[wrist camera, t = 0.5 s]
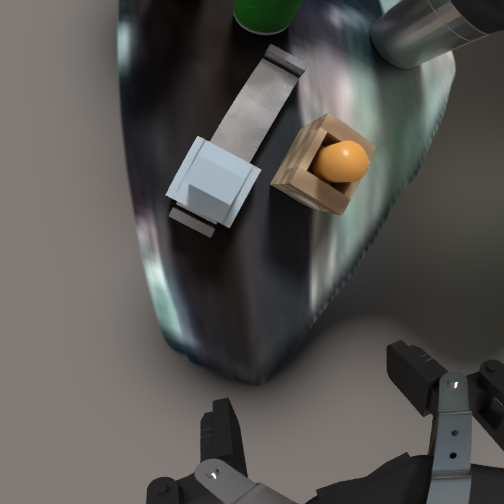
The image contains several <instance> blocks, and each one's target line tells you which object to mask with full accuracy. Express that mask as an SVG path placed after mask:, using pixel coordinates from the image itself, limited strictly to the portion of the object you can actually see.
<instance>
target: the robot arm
mask: <svg viewBox="0 0 504 504" xmlns="http://www.w3.org/2000/svg"><path fill="white" fill-rule="evenodd" d="M503 30H504V0H401V1H399V2H398V3H397V4H396V5H394V6H393V7H392V8H391V9H389V10H388V11H387V12H386V13H384V14H383V15H382V16H381V17H380V18H379V19H377V20H376V21H375V22H374V23H373V24H372V26H371V29H370V36H371V40H372V42H373V44H374V47H375V48H376V50H377V51H378V53H379V54H380V55H381V56H382V57H383V58H384V59H385V60H386V61H387V62H389V63H390V64H392V65H394V66H396V67H398V68H401V69H411V68H414V67H416V66H418V65H420V64H422V63H424V62H426V61H429V60H431V59H433V58H435V57H437V56H440V55H442V54H444V53H446V52H448V51H451V50H453V49H455V48H458V47H460V46H462V45H465V44H467V43H470V42H472V41H474V40H477V39H479V38H482V37H484V36H487V35H489V34H492V33H495V32H498V31H503ZM387 373H388V376H389V378H390V379H391V381H392V382H393V383H394V384H395V385H396V386H397V387H398V389H399V390H400V391H401V392H402V393H403V394H404V396H405V397H406V398H407V399H408V400H409V401H410V403H411V404H412V405H413V406H414V407H415V408H416V409H417V411H418V412H419V413H420V414H421V415H422V416H423V417H425V416H426V415H429V414H430V413H431V414H432V415H433V419H432V427H431V435H430V443H429V449H428V454H427V455H417V456H412V457H410V456H409V454H408V453H407V452H406V453H404V454H402V455H400V456H398V457H396V458H394V459H392V460H390V461H388V462H386V463H385V464H383V465H382V466H381V467H379V468H378V469H376V470H375V471H374V472H372V473H371V474H369V475H368V476H366V477H364V478H359V479H353V480H347V481H341V482H338V483H335V484H332V485H329V486H326V487H323V488H320V489H317V490H316V492H317V496H316V497H314V498H312V499H311V500H309V501H308V502H306V503H305V504H504V468H497V467H489V466H483V465H477V464H471V449H472V448H471V447H472V415H473V417H474V418H475V419H476V420H477V421H478V422H479V423H480V424H481V426H482V427H483V428H484V429H485V430H486V431H487V432H488V433H489V435H490V436H491V437H492V438H493V439H494V441H495V442H496V443H497V444H498V445H499V446H500V448H501V449H502V450H503V451H504V407H503V406H504V364H503V363H501V362H500V361H498V360H487V361H485V362H483V363H482V364H481V366H480V369H479V372H476V373H473V374H470V375H466V376H465V375H464V374H462V373H460V372H454V371H453V372H448V371H447V370H446V369H445V368H444V367H442V366H441V365H440V364H439V363H438V362H437V361H436V360H434V359H433V358H432V357H431V356H430V355H428V354H427V353H426V352H425V351H423V350H422V349H421V348H419V347H417V346H414V345H411V346H408V345H407V344H406V343H404V342H403V341H402V340H399V341H397V342H394V343H392V344H390V345H388V346H387ZM496 399H498V400H499V402H500V403H502V405H503V406H502V405H501V404H500V403H499V402H498V401H497V400H496ZM200 436H201V440H200V444H201V446H200V447H201V448H200V449H201V461H200V464H199V465H198V466H197V467H196V469H195V472H194V473H193V474H191V475H189V476H187V477H184V478H182V479H179V480H176V481H175V480H174V479H172V478H169V477H160V478H157V479H155V480H153V481H152V482H151V483H150V484H149V486H148V488H147V499H146V501H147V502H146V504H298V503H296V502H294V501H292V500H290V499H288V498H287V497H285V496H283V495H281V494H280V493H278V492H276V491H275V490H273V489H271V488H270V487H268V486H266V485H264V484H262V483H258V484H256V483H254V482H252V481H251V480H250V479H248V475H247V469H246V463H245V456H244V450H243V443H242V437H241V430H240V426H239V422H238V419H237V417H236V414H235V412H234V409H233V407H232V405H231V402H230V400H229V398H223V399H219V400H215V401H213V412H208V413H205V414H204V416H203V418H202V419H201V434H200Z"/></svg>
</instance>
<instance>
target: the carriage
mask: <svg viewBox="0 0 504 504" xmlns="http://www.w3.org/2000/svg"><path fill="white" fill-rule="evenodd" d="M260 171H261V169H259V168H257V167H255V166H254V165H252V164H250V163H248V162H246V161H244V160H243V159H241V158H239V157H237V156H235V155H233V154H231V153H230V152H228V151H226V150H224V149H222V148H220V147H218V146H216V145H214V144H212V143H210V142H208V141H206V140H205V139H203V138H201V137H199V136H197V138H196V140H195V142H194V143H193V145H192V147H191V149H190V150H189V152H188V154H187V156H186V158H185V159H184V161H183V163H182V165H181V167H180V169H179V170H178V172H177V174H176V176H175V178H174V180H173V182H172V184H171V186H170V188H169V190H168V191H167V193H166V196H168V197H170V198H172V199H174V200H176V201H178V202H180V203H182V204H184V205H186V206H188V207H190V208H192V209H194V210H196V211H198V212H200V213H201V214H203V215H205V216H207V217H209V218H211V219H213V220H215V221H217V222H219V223H221V224H223V225H225V226H227V227H228V228H230V226H231V224H232V223H233V221H234V219H235V217H236V215H237V213H238V211H239V210H240V208H241V206H242V204H243V202H244V200H245V199H246V197H247V195H248V193H249V191H250V189H251V188H252V186H253V184H254V182H255V180H256V179H257V177H258V175H259V173H260Z"/></svg>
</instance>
